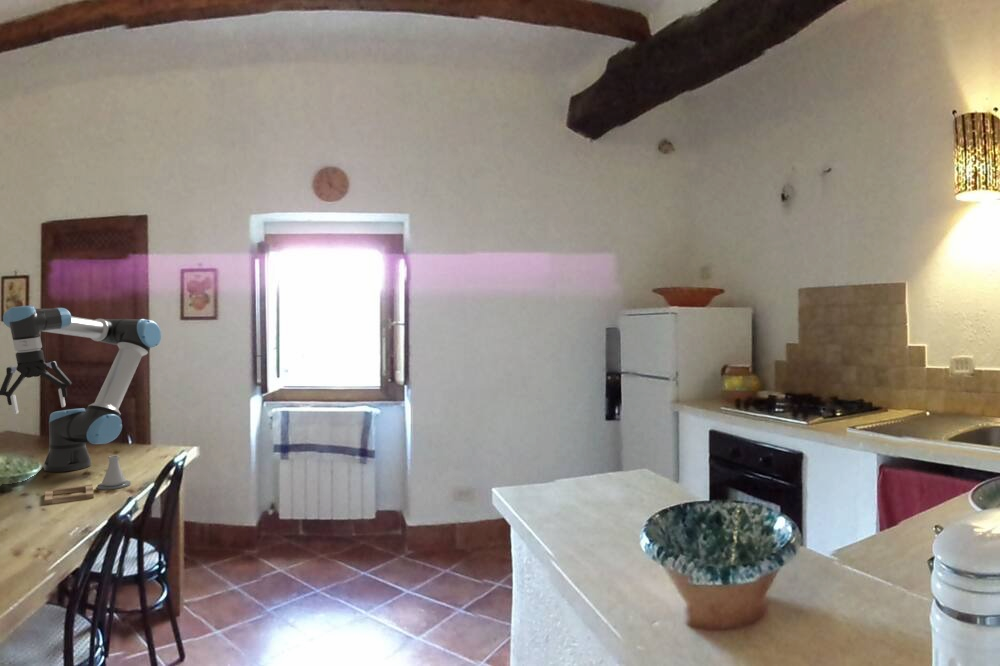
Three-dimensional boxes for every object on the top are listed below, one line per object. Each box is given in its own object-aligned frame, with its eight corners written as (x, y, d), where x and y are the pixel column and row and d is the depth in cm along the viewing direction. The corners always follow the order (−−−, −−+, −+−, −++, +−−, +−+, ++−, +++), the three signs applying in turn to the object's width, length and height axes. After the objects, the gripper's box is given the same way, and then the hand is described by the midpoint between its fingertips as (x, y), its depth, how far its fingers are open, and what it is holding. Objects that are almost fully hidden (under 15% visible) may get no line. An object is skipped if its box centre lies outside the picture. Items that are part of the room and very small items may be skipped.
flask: (114, 487, 207) (113, 459, 207) (96, 486, 209) (96, 458, 209) (130, 482, 214) (130, 454, 214) (113, 480, 216) (113, 453, 216)
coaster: (106, 482, 216) (106, 480, 216) (135, 481, 217) (135, 480, 217) (91, 490, 206) (91, 488, 206) (121, 489, 207) (121, 487, 207)
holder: (45, 494, 200) (45, 490, 200) (92, 488, 208) (92, 484, 208) (44, 504, 190) (44, 500, 190) (93, 498, 197) (93, 493, 197)
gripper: (-21, 357, 196) (-8, 419, 199) (69, 346, 207) (80, 405, 209) (-13, 354, 203) (-1, 414, 206) (74, 344, 213) (84, 401, 216)
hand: (40, 410), depth 208 cm, fingers open, 13 cm apart
